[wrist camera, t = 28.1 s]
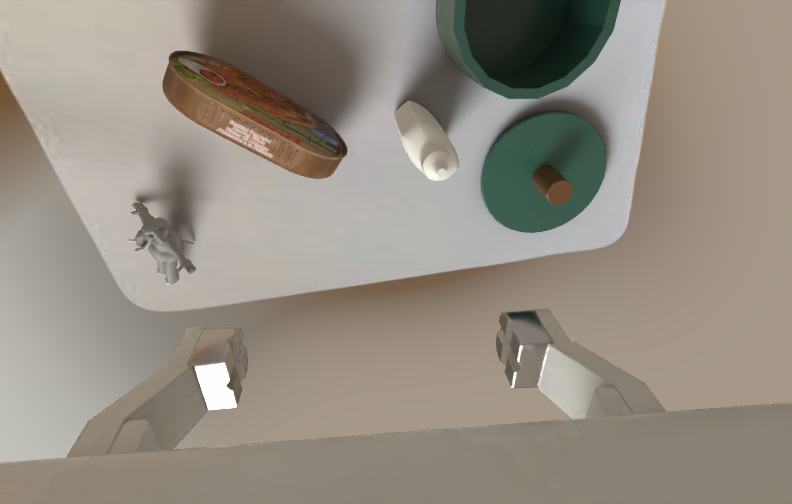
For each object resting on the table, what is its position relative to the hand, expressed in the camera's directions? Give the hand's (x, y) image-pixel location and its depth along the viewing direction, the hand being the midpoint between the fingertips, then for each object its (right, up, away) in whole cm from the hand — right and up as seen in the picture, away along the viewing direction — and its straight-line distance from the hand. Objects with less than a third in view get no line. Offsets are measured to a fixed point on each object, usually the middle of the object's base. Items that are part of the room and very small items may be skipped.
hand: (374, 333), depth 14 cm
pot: (+10, +24, +23) cm, 35 cm away
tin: (-11, +16, +26) cm, 32 cm away
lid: (+16, +11, +31) cm, 37 cm away
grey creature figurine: (-22, +4, +32) cm, 39 cm away
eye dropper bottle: (+3, +15, +28) cm, 32 cm away
